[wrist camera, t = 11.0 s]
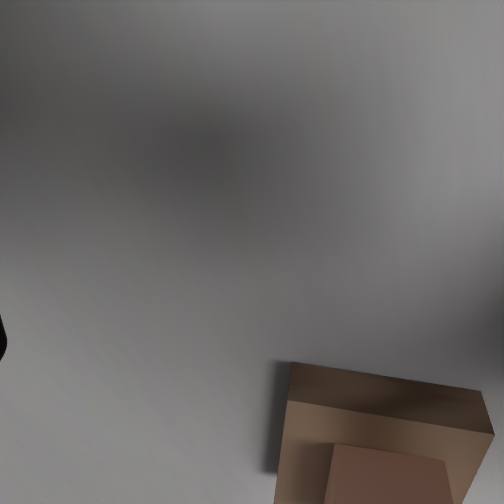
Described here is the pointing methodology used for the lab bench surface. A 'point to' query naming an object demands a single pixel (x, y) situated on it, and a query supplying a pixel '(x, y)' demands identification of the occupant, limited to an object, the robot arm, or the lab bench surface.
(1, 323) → the robot arm
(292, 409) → the walnut block
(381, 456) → the terracotta cube
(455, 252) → the lab bench surface
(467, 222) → the lab bench surface
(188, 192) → the lab bench surface
